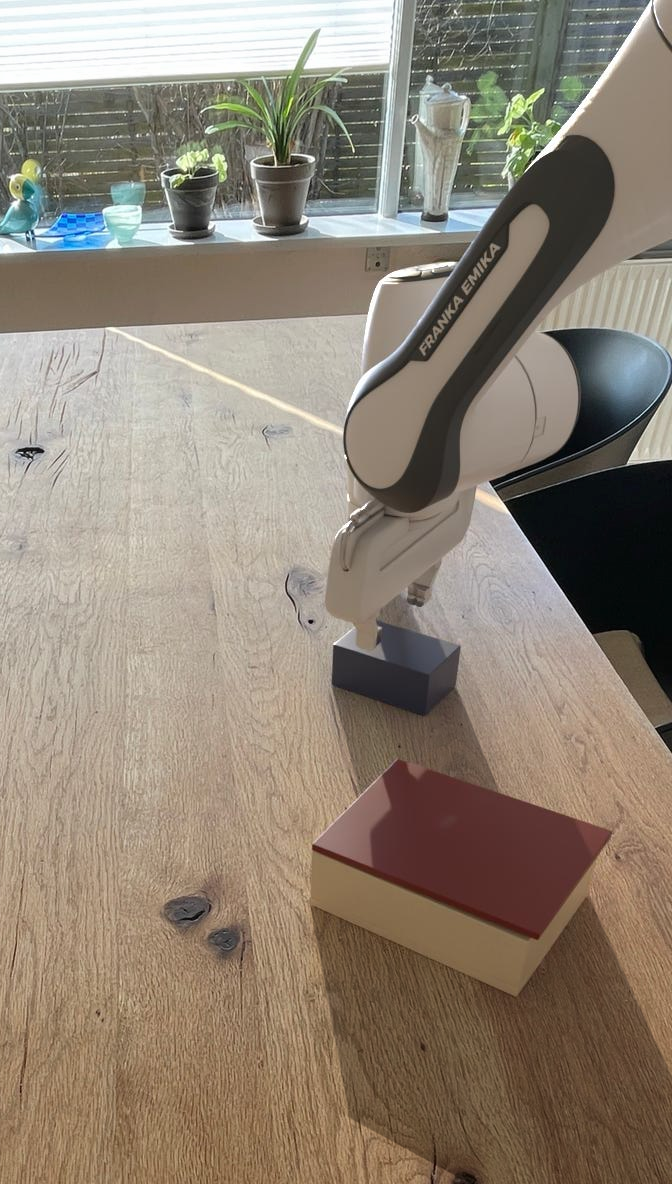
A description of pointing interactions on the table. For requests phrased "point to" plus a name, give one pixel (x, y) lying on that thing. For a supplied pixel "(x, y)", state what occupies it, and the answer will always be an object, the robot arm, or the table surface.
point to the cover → (465, 846)
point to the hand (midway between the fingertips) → (393, 623)
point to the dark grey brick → (397, 668)
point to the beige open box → (437, 924)
